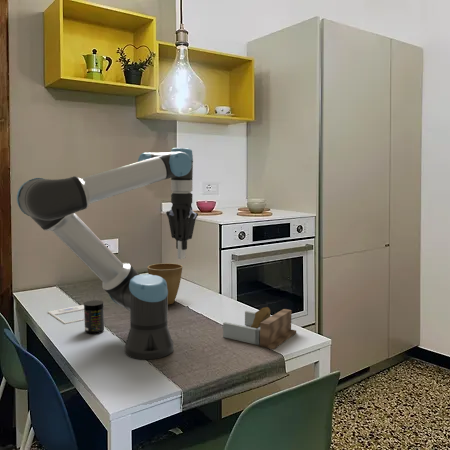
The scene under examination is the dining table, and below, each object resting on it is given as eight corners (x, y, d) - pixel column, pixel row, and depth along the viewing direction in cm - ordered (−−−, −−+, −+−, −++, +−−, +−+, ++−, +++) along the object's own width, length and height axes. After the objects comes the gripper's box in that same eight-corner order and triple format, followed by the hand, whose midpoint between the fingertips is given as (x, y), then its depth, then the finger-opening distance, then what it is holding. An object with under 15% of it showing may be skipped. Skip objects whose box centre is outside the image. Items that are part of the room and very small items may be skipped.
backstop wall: (273, 349, 151) (274, 325, 150) (259, 346, 154) (260, 322, 153) (296, 333, 166) (296, 311, 165) (283, 330, 169) (283, 308, 168)
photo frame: (82, 304, 198) (101, 314, 184) (83, 307, 198) (101, 317, 184) (47, 311, 188) (64, 322, 175) (47, 313, 188) (64, 325, 175)
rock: (253, 336, 156) (278, 328, 161) (243, 312, 160) (268, 305, 164) (243, 346, 165) (267, 338, 169) (234, 323, 169) (258, 316, 173)
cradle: (259, 345, 155) (259, 330, 154) (223, 337, 162) (223, 322, 162) (280, 330, 169) (280, 317, 168) (246, 323, 176) (246, 310, 175)
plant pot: (189, 302, 203) (189, 266, 201) (161, 309, 193) (161, 271, 191) (168, 295, 214) (168, 261, 212) (141, 302, 204) (140, 265, 202)
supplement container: (108, 331, 168) (107, 302, 166) (92, 336, 162) (91, 306, 161) (96, 327, 172) (96, 299, 171) (80, 331, 167) (79, 303, 165)
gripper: (203, 192, 166) (202, 259, 168) (174, 191, 173) (174, 255, 176) (189, 193, 159) (189, 262, 162) (160, 192, 167) (160, 257, 169)
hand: (181, 258), depth 169 cm, fingers closed
